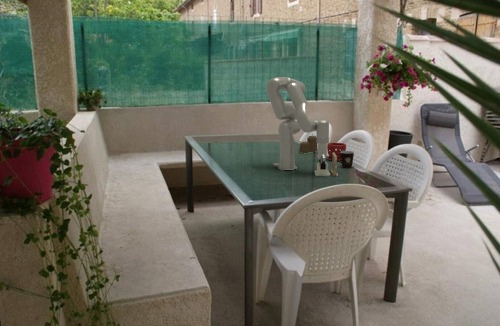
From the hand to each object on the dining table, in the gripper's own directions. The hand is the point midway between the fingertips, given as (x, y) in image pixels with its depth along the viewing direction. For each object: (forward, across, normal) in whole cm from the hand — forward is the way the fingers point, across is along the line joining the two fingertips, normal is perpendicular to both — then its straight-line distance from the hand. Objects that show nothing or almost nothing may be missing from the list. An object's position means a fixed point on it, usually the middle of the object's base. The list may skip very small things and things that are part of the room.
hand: (322, 167), depth 264 cm
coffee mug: (+4, -18, +16) cm, 25 cm away
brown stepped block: (+4, -69, -4) cm, 70 cm away
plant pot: (+4, -40, +14) cm, 42 cm away
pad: (+4, 0, 0) cm, 4 cm away
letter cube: (+3, 0, 0) cm, 3 cm away
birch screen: (+4, 0, +8) cm, 8 cm away
